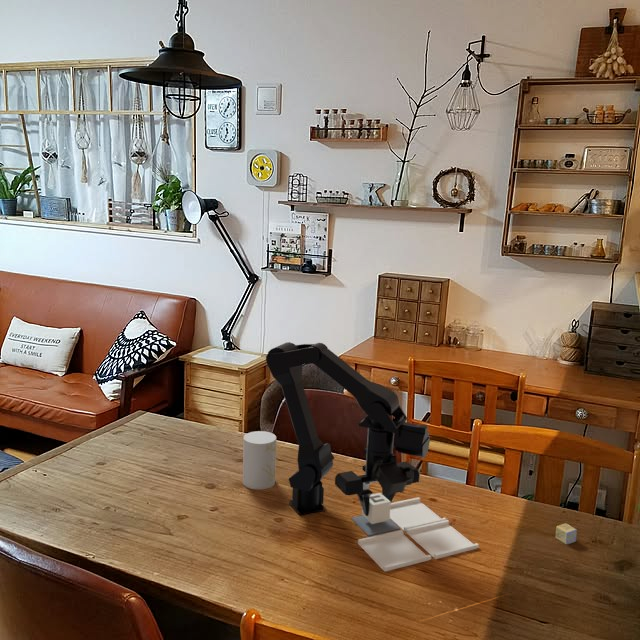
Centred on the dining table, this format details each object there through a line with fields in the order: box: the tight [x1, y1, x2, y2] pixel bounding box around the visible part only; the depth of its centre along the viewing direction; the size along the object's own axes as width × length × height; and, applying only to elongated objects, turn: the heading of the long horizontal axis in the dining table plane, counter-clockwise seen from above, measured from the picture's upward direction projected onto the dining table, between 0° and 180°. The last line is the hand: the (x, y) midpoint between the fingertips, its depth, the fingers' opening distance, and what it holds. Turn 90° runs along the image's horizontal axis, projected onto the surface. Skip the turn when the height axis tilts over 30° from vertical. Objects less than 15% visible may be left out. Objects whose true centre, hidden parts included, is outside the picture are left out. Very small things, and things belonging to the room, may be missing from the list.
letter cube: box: [361, 492, 392, 524], centre depth 143 cm, size 4×4×5 cm
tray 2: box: [405, 519, 480, 560], centre depth 138 cm, size 11×11×1 cm
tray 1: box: [390, 496, 447, 533], centre depth 148 cm, size 11×11×1 cm
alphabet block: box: [555, 523, 578, 546], centre depth 141 cm, size 3×3×3 cm
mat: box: [350, 514, 401, 537], centre depth 144 cm, size 8×8×1 cm
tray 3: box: [357, 529, 432, 572], centre depth 133 cm, size 11×11×1 cm
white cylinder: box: [242, 430, 277, 490], centre depth 161 cm, size 8×8×12 cm
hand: (375, 512), depth 144 cm, fingers closed on letter cube, 4 cm apart
